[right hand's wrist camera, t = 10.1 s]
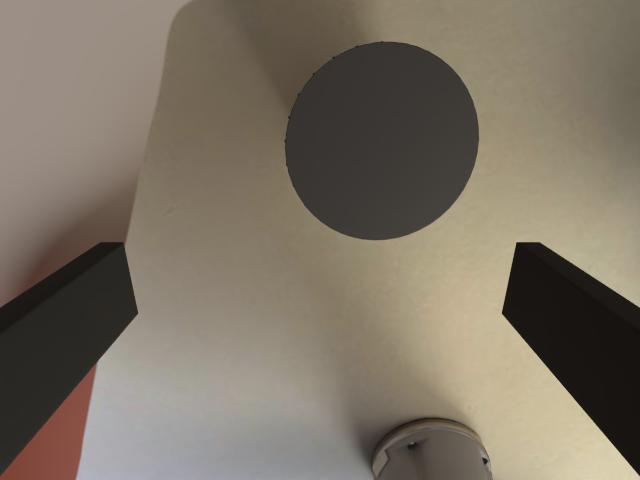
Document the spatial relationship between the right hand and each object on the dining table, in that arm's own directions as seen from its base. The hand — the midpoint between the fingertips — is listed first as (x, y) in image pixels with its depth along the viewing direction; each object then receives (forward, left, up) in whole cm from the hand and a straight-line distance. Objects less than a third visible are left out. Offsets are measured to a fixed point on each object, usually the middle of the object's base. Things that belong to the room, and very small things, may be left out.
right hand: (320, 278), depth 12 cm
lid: (-2, -4, -10) cm, 11 cm away
